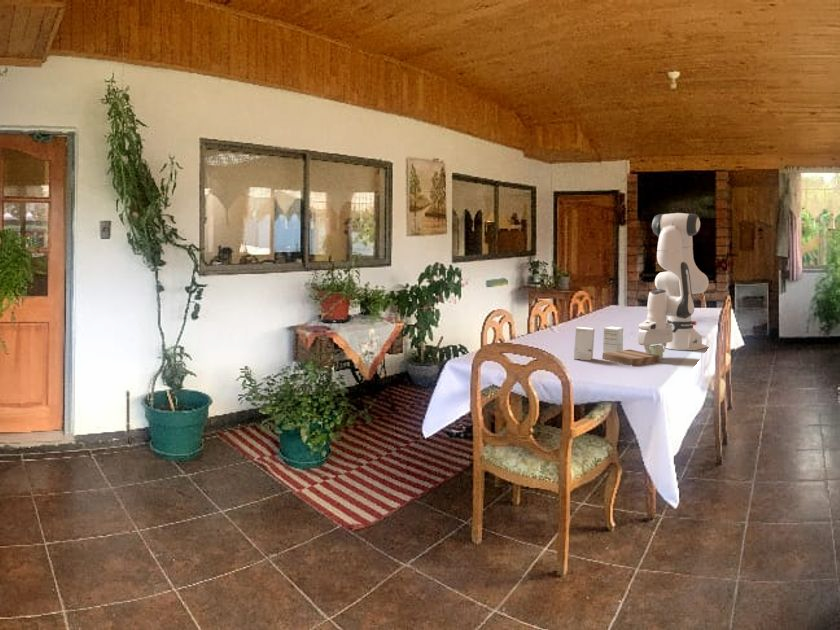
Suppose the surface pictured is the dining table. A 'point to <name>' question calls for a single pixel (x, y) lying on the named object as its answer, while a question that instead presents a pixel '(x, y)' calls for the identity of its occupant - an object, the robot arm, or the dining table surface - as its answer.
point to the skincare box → (584, 343)
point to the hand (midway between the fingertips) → (655, 353)
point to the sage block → (656, 350)
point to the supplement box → (613, 339)
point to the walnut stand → (631, 357)
